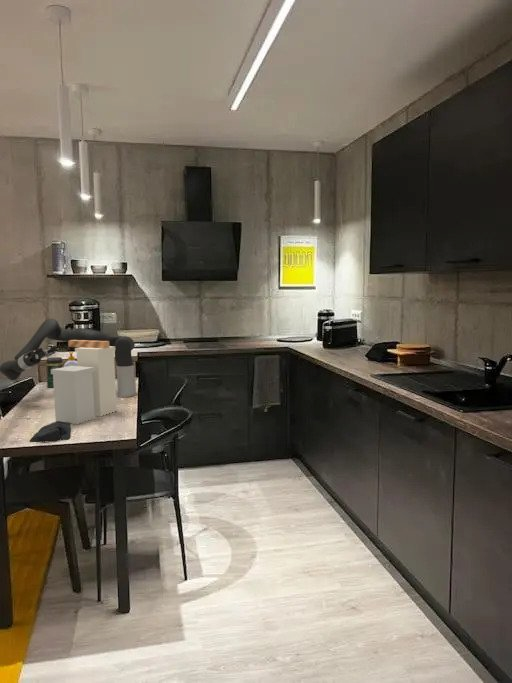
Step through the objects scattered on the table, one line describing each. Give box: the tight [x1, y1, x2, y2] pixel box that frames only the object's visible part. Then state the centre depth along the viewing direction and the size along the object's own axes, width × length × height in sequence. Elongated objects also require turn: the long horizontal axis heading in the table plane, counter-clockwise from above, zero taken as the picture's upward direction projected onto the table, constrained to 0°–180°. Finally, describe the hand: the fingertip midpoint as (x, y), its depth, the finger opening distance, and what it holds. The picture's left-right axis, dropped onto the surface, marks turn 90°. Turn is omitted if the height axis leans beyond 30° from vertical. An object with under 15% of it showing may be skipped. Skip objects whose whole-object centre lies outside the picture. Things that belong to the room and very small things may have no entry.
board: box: [67, 340, 109, 348], centre depth 244 cm, size 22×4×3 cm, turn 65°
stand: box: [74, 346, 118, 417], centre depth 244 cm, size 14×12×32 cm
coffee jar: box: [45, 356, 64, 389], centre depth 315 cm, size 10×8×19 cm
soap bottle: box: [63, 351, 77, 367], centre depth 304 cm, size 9×7×23 cm
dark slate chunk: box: [29, 421, 72, 443], centre depth 210 cm, size 15×22×5 cm
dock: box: [51, 366, 96, 425], centre depth 231 cm, size 14×12×24 cm
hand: (49, 348), depth 253 cm, fingers open, 8 cm apart
